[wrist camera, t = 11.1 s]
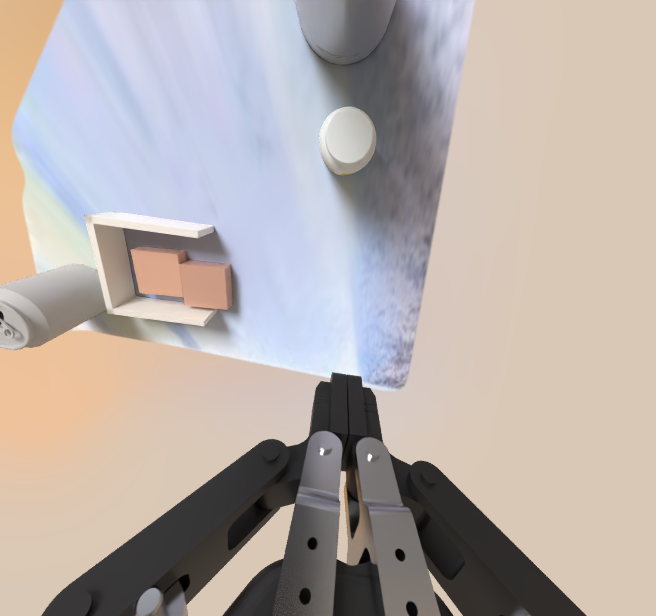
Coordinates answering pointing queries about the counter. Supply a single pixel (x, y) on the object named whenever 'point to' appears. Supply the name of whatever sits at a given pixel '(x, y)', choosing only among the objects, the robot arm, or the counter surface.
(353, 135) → the supplement bottle
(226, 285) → the tile
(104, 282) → the white u-shaped bracket
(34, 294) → the can
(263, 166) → the counter surface
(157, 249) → the tile
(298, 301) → the counter surface
